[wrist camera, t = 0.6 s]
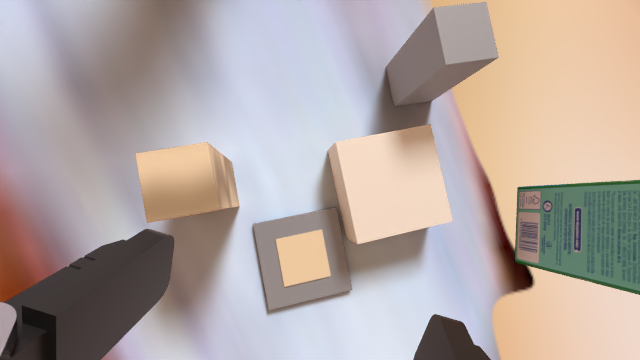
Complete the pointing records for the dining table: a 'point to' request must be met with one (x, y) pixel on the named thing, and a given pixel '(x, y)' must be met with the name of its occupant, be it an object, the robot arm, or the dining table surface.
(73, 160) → the dining table surface
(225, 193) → the maple block
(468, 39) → the slate block
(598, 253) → the milk carton
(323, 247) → the tile
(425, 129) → the base block
